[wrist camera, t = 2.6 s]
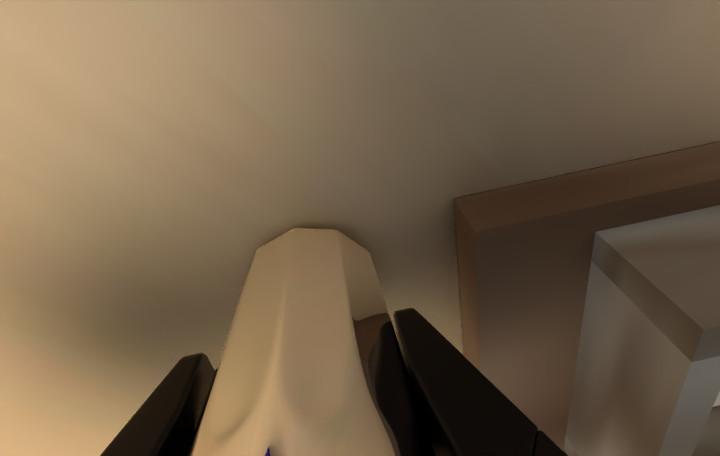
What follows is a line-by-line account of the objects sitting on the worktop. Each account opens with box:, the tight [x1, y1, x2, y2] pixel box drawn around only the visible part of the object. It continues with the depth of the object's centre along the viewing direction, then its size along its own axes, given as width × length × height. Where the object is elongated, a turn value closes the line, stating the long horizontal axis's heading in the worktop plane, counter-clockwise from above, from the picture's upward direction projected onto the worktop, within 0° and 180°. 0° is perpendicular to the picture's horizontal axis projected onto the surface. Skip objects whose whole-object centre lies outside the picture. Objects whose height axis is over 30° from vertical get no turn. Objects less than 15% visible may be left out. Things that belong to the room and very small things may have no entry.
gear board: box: [454, 142, 720, 456], centre depth 13 cm, size 18×12×4 cm, turn 10°
